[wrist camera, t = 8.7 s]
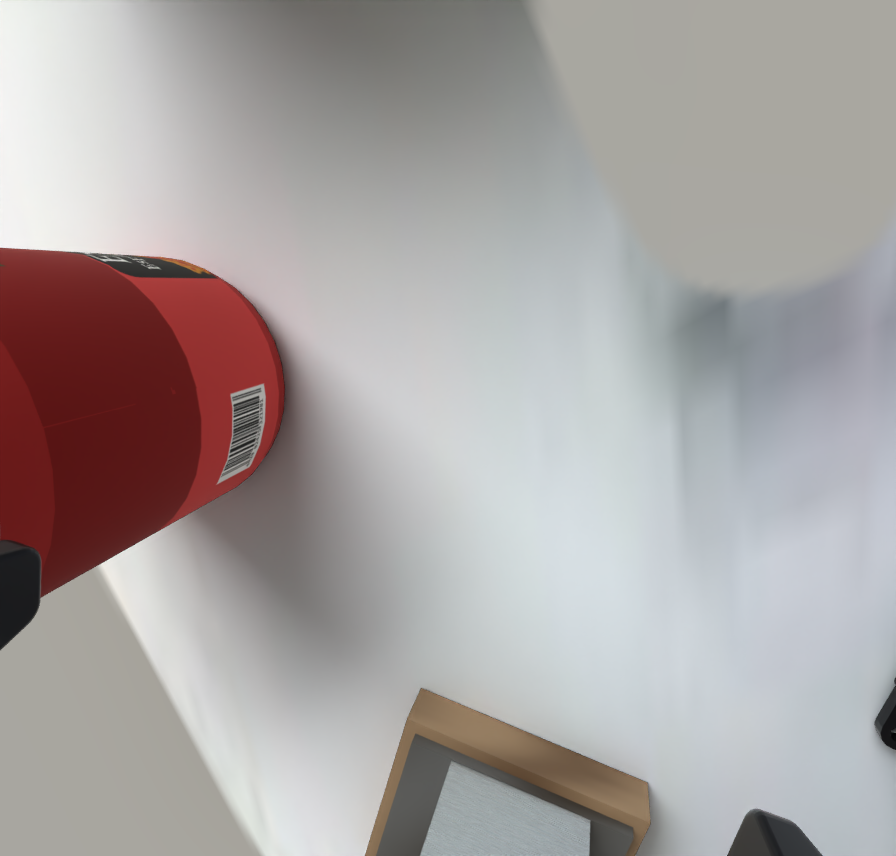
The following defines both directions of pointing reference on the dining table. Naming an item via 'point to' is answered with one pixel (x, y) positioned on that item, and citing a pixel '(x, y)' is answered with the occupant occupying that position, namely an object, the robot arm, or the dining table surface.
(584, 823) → the housing
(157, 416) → the canned food
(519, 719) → the dining table surface
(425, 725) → the stand
